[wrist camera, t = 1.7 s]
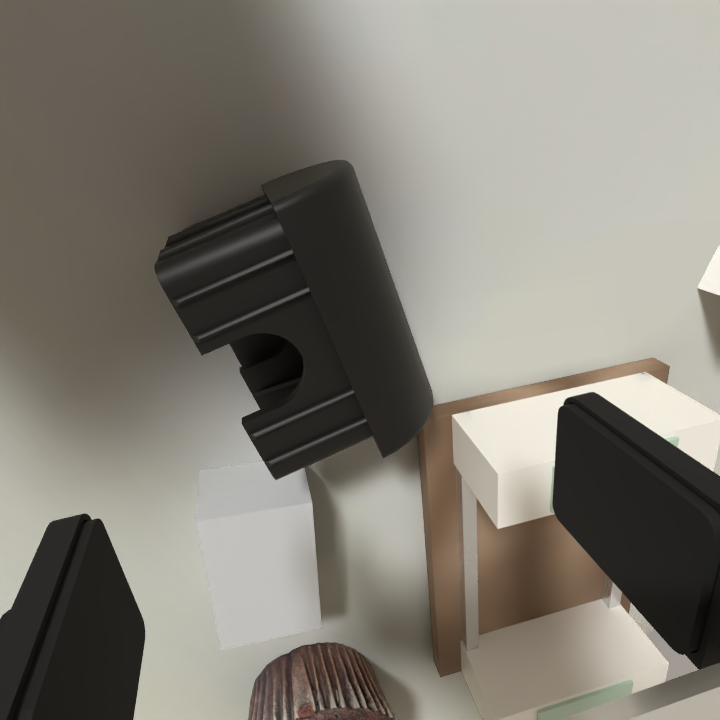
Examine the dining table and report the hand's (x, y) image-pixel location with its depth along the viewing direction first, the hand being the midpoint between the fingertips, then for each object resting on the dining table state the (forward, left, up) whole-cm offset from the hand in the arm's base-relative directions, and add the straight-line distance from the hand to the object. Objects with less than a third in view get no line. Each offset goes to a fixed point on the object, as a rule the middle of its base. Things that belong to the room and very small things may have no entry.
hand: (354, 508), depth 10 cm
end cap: (-1, 0, -14) cm, 14 cm away
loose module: (+3, +12, -14) cm, 19 cm away
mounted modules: (-13, +17, -13) cm, 25 cm away
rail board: (-13, +17, -14) cm, 25 cm away
